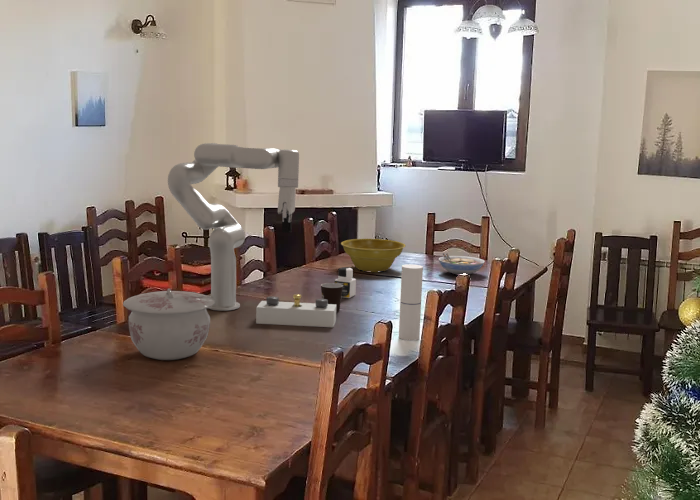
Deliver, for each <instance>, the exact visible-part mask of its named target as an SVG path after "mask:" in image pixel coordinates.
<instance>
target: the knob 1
mask: <svg viewBox="0 0 700 500" xmlns="http://www.w3.org/2000/svg"><path fill="white" fill-rule="evenodd" d="M266 301H267V304H270V306H276V304H279V302H280V301H279V297H278V296H267V297H266Z"/></svg>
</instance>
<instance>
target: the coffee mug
mask: <svg viewBox="0 0 700 500" xmlns="http://www.w3.org/2000/svg"><path fill="white" fill-rule="evenodd" d="M342 290H343V285H342V284H337V283H334V282H325V283H321V284H320V291H321V299H327V300H328V304H336V313H338V312H339V313H340V309H341V302H342V297H341V296H342Z"/></svg>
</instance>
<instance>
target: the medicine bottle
mask: <svg viewBox="0 0 700 500" xmlns="http://www.w3.org/2000/svg"><path fill="white" fill-rule="evenodd" d="M353 271H354V270H353V268H351V267H343V266H342V267H340V268H339V269H338V271H337V272H338V273H337V275H338V276H337V277H338V278H335V279H334V282H333V283H337V284H342V285H343V290H342V296H341V298H343V299H344V298H346V299H350V298H352V297H354V296H356V293H357V292H356V288H357V279H356V278H354V277H353V275H354V274H353V273H354V272H353Z"/></svg>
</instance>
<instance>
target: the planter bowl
mask: <svg viewBox="0 0 700 500" xmlns="http://www.w3.org/2000/svg"><path fill="white" fill-rule="evenodd" d="M340 245H341V246H342V247H343V250H344V252H345V254H347V255H348V256H349V257H350V259H351V262H352V264H353V265H354V266H355V268H356V269H358V271H360V270H363V271H362V272H364V271H371V272H370V273H379V272H378V271H384V272H386V271H387V270H388V269H390V268H391V267H392V265H394V261H395V259H396V258H398V257H399V256H400V255H401V254H402V252H403V249H404V248H406V244H405V243H403V242H402V241H401V242H400V241H396V240H391V239H384V238H383V239H382V238H381V239H380V238H353V239H347V240H344V241H341V242H340ZM385 270H386V271H385Z"/></svg>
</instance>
